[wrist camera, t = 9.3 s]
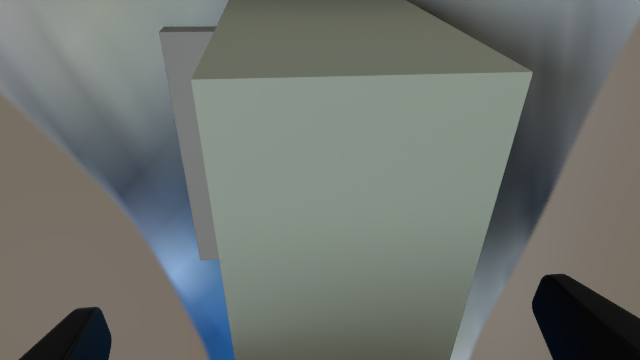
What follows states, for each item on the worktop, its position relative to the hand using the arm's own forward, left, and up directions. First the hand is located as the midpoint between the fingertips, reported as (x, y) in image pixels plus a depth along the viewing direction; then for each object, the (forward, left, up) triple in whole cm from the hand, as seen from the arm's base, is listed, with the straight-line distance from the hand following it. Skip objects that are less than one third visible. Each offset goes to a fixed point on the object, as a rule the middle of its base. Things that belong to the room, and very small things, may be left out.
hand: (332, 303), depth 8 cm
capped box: (0, -1, -6) cm, 6 cm away
